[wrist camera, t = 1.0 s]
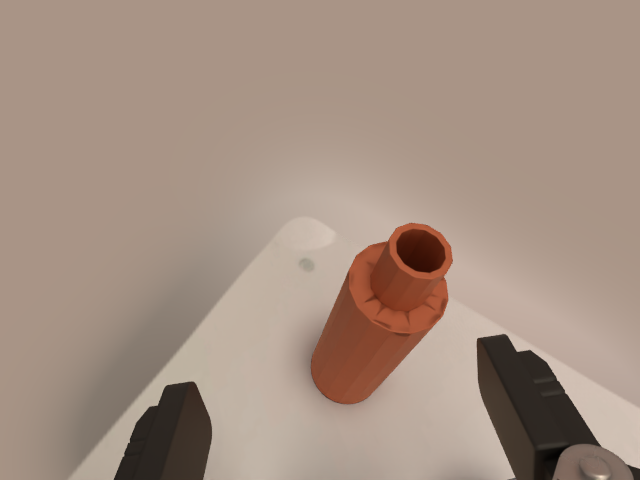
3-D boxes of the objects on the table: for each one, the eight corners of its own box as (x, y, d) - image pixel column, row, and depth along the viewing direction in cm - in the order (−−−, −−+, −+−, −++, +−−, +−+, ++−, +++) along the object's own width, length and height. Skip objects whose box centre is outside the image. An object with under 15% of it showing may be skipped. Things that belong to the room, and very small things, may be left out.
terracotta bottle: (309, 401, 30) (365, 295, 17) (312, 332, 32) (364, 197, 20) (380, 407, 30) (484, 308, 18) (378, 339, 33) (468, 211, 20)
